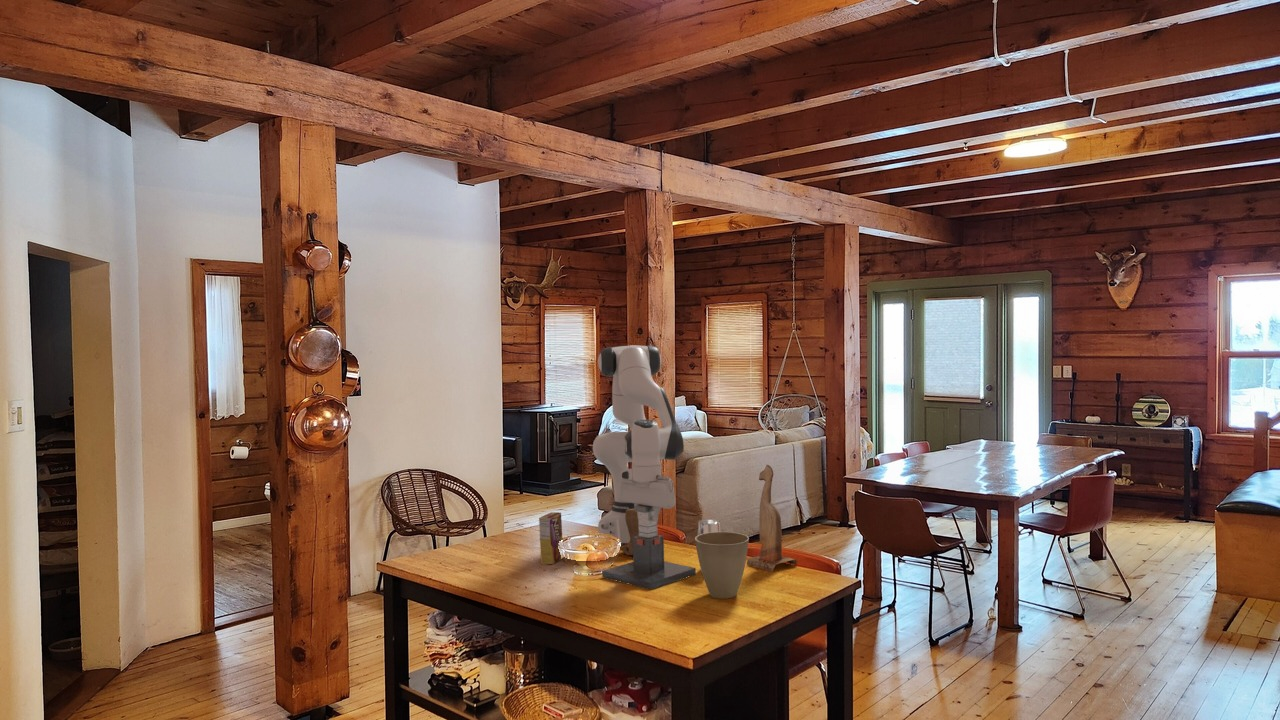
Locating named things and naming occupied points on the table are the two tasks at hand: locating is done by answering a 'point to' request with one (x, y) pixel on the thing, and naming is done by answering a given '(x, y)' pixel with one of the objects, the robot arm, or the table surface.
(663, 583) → the stand
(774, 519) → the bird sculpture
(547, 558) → the candy box
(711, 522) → the beer glass
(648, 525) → the light grey tall block
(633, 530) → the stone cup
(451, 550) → the table surface
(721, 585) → the plant pot
